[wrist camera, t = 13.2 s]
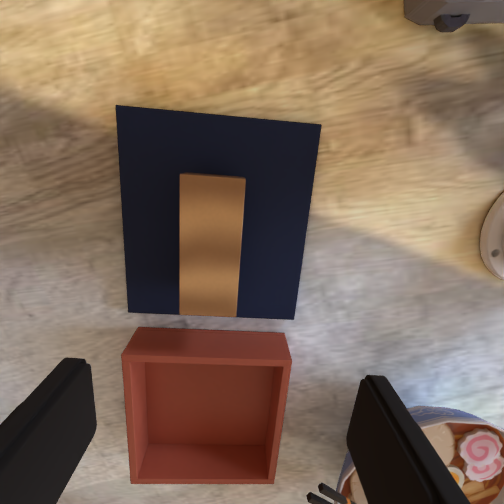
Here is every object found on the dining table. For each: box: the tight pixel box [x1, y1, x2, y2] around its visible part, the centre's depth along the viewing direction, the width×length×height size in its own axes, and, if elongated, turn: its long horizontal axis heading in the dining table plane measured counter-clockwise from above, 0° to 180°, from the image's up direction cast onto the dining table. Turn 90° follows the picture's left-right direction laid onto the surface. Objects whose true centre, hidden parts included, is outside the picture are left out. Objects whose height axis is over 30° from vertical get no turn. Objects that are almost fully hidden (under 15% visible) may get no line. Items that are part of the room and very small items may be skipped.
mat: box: [116, 105, 321, 320], centre depth 28 cm, size 20×18×1 cm
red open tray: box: [121, 327, 292, 484], centre depth 32 cm, size 18×17×5 cm
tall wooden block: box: [179, 173, 246, 317], centre depth 25 cm, size 12×5×5 cm, turn 176°
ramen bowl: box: [306, 406, 504, 504], centre depth 34 cm, size 25×23×8 cm
